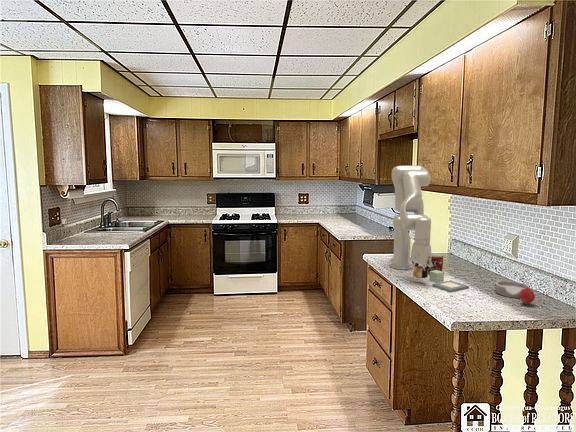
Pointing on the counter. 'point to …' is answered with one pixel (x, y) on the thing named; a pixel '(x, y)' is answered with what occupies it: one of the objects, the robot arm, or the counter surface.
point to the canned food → (436, 262)
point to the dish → (509, 288)
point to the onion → (527, 295)
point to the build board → (450, 286)
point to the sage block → (436, 276)
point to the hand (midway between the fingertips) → (420, 275)
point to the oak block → (418, 271)
